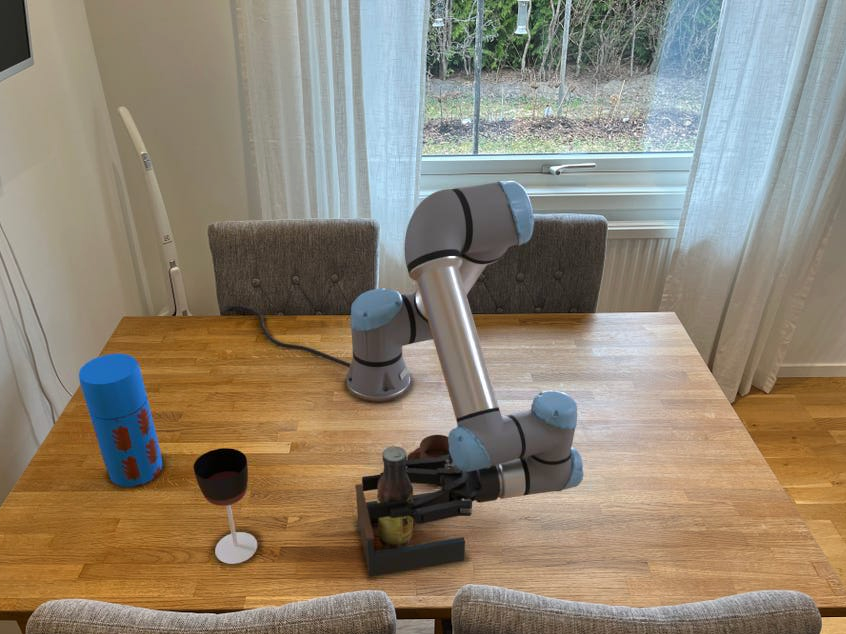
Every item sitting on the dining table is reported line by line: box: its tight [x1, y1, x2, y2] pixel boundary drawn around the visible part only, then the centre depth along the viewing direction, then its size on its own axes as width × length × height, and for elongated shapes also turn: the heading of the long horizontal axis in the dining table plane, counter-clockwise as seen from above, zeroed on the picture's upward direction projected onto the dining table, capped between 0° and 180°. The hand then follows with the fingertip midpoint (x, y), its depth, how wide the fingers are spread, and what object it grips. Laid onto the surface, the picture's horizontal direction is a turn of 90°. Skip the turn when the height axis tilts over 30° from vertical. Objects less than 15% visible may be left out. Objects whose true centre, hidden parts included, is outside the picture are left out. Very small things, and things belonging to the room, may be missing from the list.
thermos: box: [78, 353, 163, 488], centre depth 141 cm, size 11×11×25 cm
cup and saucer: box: [407, 434, 450, 480], centre depth 145 cm, size 12×12×6 cm
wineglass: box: [193, 447, 258, 565], centre depth 124 cm, size 8×9×20 cm
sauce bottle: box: [376, 445, 414, 550], centre depth 124 cm, size 7×6×20 cm
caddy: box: [354, 483, 466, 578], centre depth 128 cm, size 17×13×10 cm
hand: (366, 497), depth 123 cm, fingers closed on sauce bottle, 6 cm apart
